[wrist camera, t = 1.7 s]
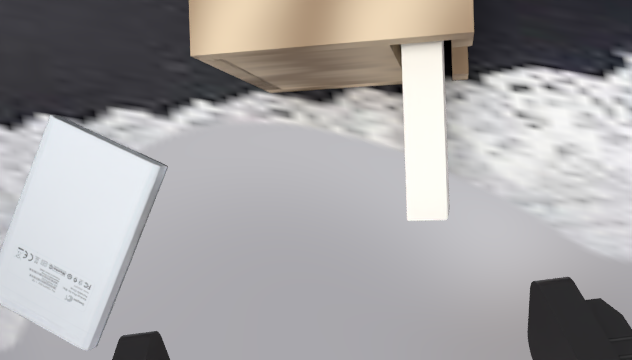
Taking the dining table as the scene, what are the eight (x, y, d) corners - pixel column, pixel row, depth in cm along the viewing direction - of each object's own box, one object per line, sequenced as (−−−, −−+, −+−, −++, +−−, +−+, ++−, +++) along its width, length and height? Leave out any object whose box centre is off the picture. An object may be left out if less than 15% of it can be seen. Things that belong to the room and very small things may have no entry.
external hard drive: (171, 166, 37) (99, 346, 38) (64, 116, 39) (-2, 290, 40) (159, 166, 36) (84, 353, 37) (47, 113, 37) (-21, 294, 39)
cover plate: (419, 209, 34) (407, 220, 24) (413, 11, 34) (398, -51, 24) (449, 208, 33) (447, 219, 24) (442, 8, 33) (438, -56, 24)
